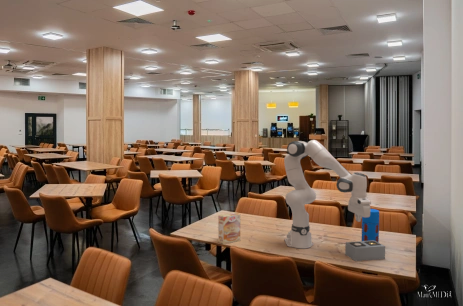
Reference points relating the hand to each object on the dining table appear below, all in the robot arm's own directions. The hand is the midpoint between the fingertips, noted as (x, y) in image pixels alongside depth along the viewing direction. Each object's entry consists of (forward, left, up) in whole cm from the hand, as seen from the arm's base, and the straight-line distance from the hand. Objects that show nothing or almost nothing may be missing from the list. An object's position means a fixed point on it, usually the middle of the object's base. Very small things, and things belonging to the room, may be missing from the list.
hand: (358, 221), depth 229 cm
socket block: (0, +5, -23) cm, 23 cm away
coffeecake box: (-48, -72, -23) cm, 89 cm away
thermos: (-17, +19, -23) cm, 34 cm away
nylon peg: (0, 0, -22) cm, 22 cm away
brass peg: (0, +10, -22) cm, 25 cm away
